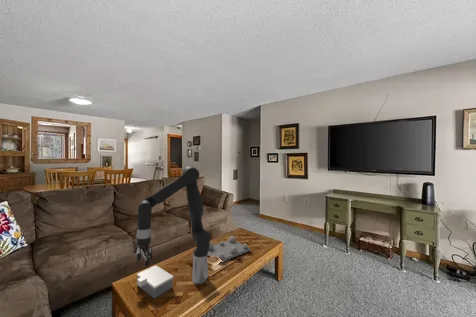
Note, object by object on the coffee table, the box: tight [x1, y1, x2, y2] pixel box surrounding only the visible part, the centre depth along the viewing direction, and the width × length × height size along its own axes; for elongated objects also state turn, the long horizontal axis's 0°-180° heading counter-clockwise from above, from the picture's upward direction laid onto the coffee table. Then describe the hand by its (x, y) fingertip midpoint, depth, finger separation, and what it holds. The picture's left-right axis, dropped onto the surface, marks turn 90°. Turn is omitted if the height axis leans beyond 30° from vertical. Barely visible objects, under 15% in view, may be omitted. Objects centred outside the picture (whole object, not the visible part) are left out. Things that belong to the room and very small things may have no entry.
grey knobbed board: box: [208, 235, 252, 262], centre depth 172 cm, size 35×26×10 cm
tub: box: [136, 276, 174, 300], centre depth 124 cm, size 12×18×6 cm, turn 55°
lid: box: [136, 264, 174, 289], centre depth 122 cm, size 17×19×4 cm
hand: (142, 263), depth 117 cm, fingers open, 8 cm apart
